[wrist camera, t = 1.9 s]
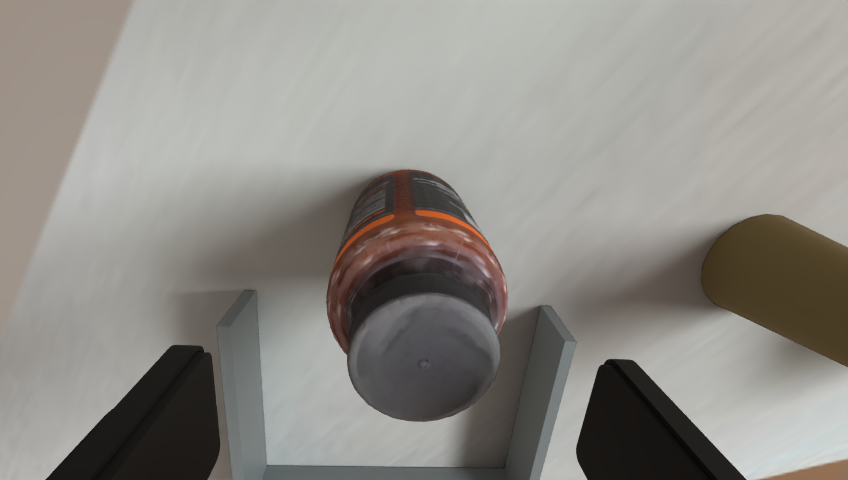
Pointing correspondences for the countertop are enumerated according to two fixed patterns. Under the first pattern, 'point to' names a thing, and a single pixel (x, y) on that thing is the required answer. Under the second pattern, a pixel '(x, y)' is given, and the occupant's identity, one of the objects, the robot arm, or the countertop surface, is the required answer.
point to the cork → (783, 281)
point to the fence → (518, 475)
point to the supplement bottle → (417, 299)
